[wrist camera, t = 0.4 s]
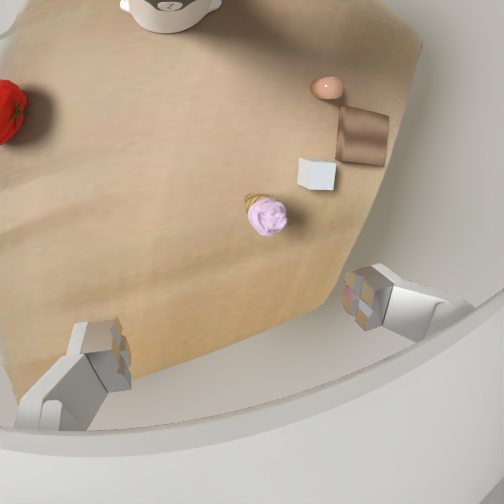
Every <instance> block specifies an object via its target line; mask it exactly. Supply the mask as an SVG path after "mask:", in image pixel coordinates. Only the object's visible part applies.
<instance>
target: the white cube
mask: <svg viewBox="0 0 504 504" xmlns="http://www.w3.org/2000/svg"><path fill="white" fill-rule="evenodd" d="M335 170H336V163H333V162H330V161H327V160H323V159H312V158H299V170H298V181H297V184H299V185H301V186H303V187H305V188H307V189H309V190H333V187H334V179H335Z"/></svg>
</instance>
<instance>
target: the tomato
mask: <svg viewBox="0 0 504 504" xmlns="http://www.w3.org/2000/svg"><path fill="white" fill-rule="evenodd" d="M26 103H27V98H26V94H24V93H23V92H22V91H20V89H19V87H18V86H17V85H16V84H14V83H12V82H11V81H9V80H0V145H2V144H3V143H5V142H6V141H7V140H9V139H10V138H11V137H12V136H13V135H14V134H15V133H16V132H17V131H18V129H19V128H20V127H21V125H22V122H23V119H24V115H23V114H28V113H26V112H23V110H24V108H25V105H26Z"/></svg>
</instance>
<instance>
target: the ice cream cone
mask: <svg viewBox="0 0 504 504" xmlns="http://www.w3.org/2000/svg"><path fill="white" fill-rule="evenodd" d="M245 204H246V211H247V215H248V218H249V221H250V222H251V224H252V226H253V227H254V228H255V229H256V230H257V231H258V232H259V234H260V235H262V236H271V235H273V234H276V233H279V232H280V231H281V230H282V229H284V228H286V227H287V226H288V224H287V219H289V218H286V209H285V206H284V204H283V203H281V202H279V201H278V200H277V199H276V198H274V197H272V196H269V195H264V194H249V195H247V196H246V197H245Z"/></svg>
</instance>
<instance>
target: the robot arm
mask: <svg viewBox="0 0 504 504" xmlns="http://www.w3.org/2000/svg"><path fill="white" fill-rule="evenodd" d="M221 4H222V0H121V3H120V8H121V9H122V10H123V11H125V12H127V13H129V14H131V15H132V16H133V18H134V19H135V20H136V22H137V23H138V24H139V25H140V26H142V27H143V28H145V29H147V30H149V31H152V32H156V33H175V32H179V31H183V30H185V29H188V28H190V27H192V26H193V25H195V24H196V23H198V22H199V21H200V20H201V19H202V18H203V17H204V16H205V15H206V14H207V13H209V12H211V11H214V10H216V9H218V8H219V7H220V6H221ZM344 282H345V284H346V285H347V286H346V287H345V289H344V290H343V292H342V303H343V307H344V308H345V310H346V312H347V313H348V314H349V315H352V316H355V320H356V322H357V323H358V324H359V326H360V327H361V328H362V329H363V330H364V331H368V330H371V329H374V328H377V327H380V326H382V325H383V327H385V328H387V329H389V330H391V331H393V332H395V333H397V334H400V335H402V336H404V337H406V338H408V339H410V340H412V341H414V342H416V344H414V345H412V346H410V347H408V348H406V349H404V350H402V351H400V352H398V353H396V354H394V355H392V356H390V357H387V358H385V359H383V360H381V361H379V362H377V363H375V364H372V365H370V366H368V367H365V368H363V369H361V370H358V371H356V372H354V373H351V374H349V375H346V376H344V377H341V378H339V379H336V380H333V381H331V382H328V383H325V384H323V385H320V386H317V387H314V388H311V389H309V390H306V391H303V392H300V393H297V394H294V395H290V396H287V397H284V398H281V399H277V400H274V401H271V402H267V403H264V404H260V405H256V406H253V407H249V408H245V409H241V410H237V411H233V412H228V413H224V414H219V415H215V416H210V417H205V418H200V419H194V420H189V421H183V422H177V423H171V424H163V425H156V426H148V427H138V428H129V429H115V430H97V431H87V429H88V427H89V425H90V424H91V422H92V420H93V418H94V417H95V415H96V413H97V411H98V410H99V408H100V406H101V405H102V403H103V402H104V400H105V398H106V397H107V395H108V393H109V392H117V391H124V390H131V373H130V371H129V366H130V365H131V353H130V348H129V345H128V342H127V339H126V337H125V336H123V335H122V334H121V333H122V326H121V324H120V321H119V319H118V318H117V317H115V318H107V319H99V320H91V321H83V322H77V323H76V324H75V325H74V328H73V331H72V335H71V338H70V342H69V346H68V350H67V354H66V356H62V357H61V358H60V359H59V360H58V361H57V362H56V363H55V364H54V365H53V366H52V367H51V368H50V369H49V370H48V371H47V372H46V373H45V374H44V375H43V376H42V377H41V378H40V379H39V380H38V381H37V382H36V383H35V384H34V385H33V386H32V387H31V389H30V390H29V391H28V392H27V393H26V394H25V395H24V396H23V397H22V398H21V400H20V404H19V409H18V413H17V417H16V422H15V426H14V428H9V427H1V426H0V504H504V289H503V290H501V291H500V292H498V293H497V294H495V295H494V296H493V297H491V298H490V299H489V300H487V301H486V302H484V303H483V304H481V305H480V306H478V307H477V308H475V307H473V306H472V305H471V304H469V303H468V302H467V301H466V300H464V299H463V298H462V297H460V296H459V295H458V294H455V293H451V292H448V291H444V290H440V289H437V288H433V287H429V286H426V285H422V284H419V283H415V282H411V281H404V280H403V279H401V278H400V277H399V276H398V275H396V274H395V273H394V272H392V271H391V270H390V269H388V268H387V267H386V266H384V265H383V264H381V263H376V264H373V265H369V266H367V267H363V268H359V269H355V270H351V271H348V272H347V273H346V275H345V278H344Z"/></svg>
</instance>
